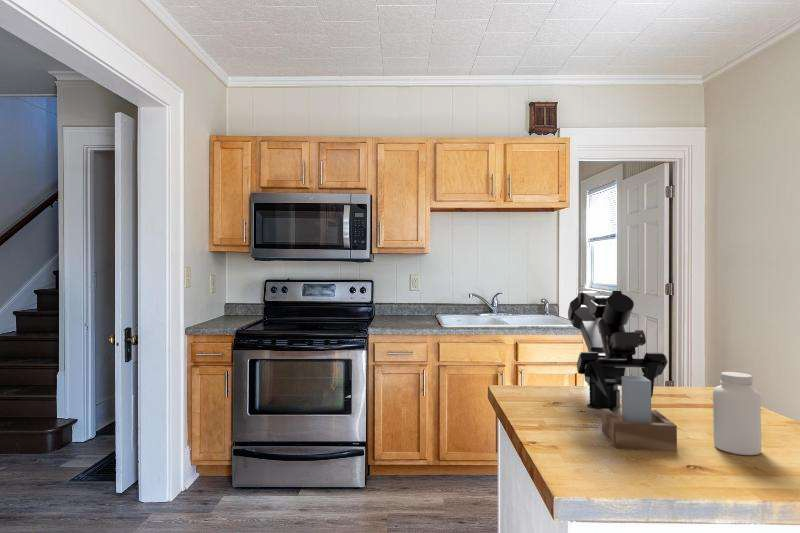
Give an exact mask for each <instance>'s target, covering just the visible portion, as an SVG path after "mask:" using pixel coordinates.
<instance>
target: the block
mask: <svg viewBox="0 0 800 533" xmlns="http://www.w3.org/2000/svg"><path fill="white" fill-rule="evenodd" d="M651 410H652V398H651V381H650V380H648V379H647V378H645V377H644V376H643V375H642V376H639V375H638V376H637V375H635V376H633V375H624V376H622V385H621V422H646V423H651Z"/></svg>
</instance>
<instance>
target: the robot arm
mask: <svg viewBox="0 0 800 533" xmlns="http://www.w3.org/2000/svg"><path fill="white" fill-rule="evenodd" d="M634 303H635V302H634V300H633V299H632V298H631V297H630V296H628V295H626V294H623V293H622V290H612V291H611V294H610V295H602V294H600V293H599V292H598V291H595V290H581V291H579V292H578V294H577V296H576V297H575V298H574V299H573V300H571V301H570V303H569V306H568V310H567V317H568V321H570V324H571V325H572V327H573V328H575V329H578V330H579V331H580V333H581V335H582V338H583V341H584V342H585V345H586V347H587V350H588V351H581V352H580V353H579V355H578V359H577V363H576V369H577V373H578V374H580V375H583V376H584V381H585V382H586V383H587V384H588V385H589V388H588V389H589V402H588V403H587V404H586V406H587V407H588V408H589V407H590V408H595V409H598V410H599V409H600V410H602V409H609V410H610V411H611V412H612V411H614V410H616V409H618V408H619V407H620V406H621V390H620V389H619V387H618V386H619V385H620V386H622V376H625V373H626V368H629V369H630V368H633V369H634V368H637V369H639V368H640V369H641V372H642V376H644V377H645V378H647V379H648V380H650V381H651V399H652V398H653V395H654V387H655V386H654V384H655V379H656V378H657V377H658V376H660V375H662V374H663V372H664V370H665V368H666V366H667V365H668V362H669V361H668V359H667V356H666V355H665V354H664V353H663V352H645V354H644V357H643V358H634V357H633V356H635V355H636V354H637V353H636V348H638V347H639V346H640V347H641V346H644V345H645V344H646V343H647V340H646V334H645V332H644V329H643V330H642V329H641V330H639V329H636V330H634V331H626V329H625V325H627V324H628V322H629V320H630V317H631V314H632V311H633V308H634V306H635V305H634Z"/></svg>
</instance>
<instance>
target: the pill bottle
mask: <svg viewBox="0 0 800 533" xmlns="http://www.w3.org/2000/svg"><path fill="white" fill-rule="evenodd" d="M753 378H754V377H753V375H751V374H750V373H749V374H748V373H745V372H744V373H743V372H737V371H723V372H721V373H720V381H719V382H720V385H717V386H715V387H714V388H713V390H712V424H713V426H712V427H713V428H712V430H713V434H712V435H713V445H714V446H715V447H716V448H717V449H719V450H721V451H723V452H726V453H730V454H733V455H741V456H755V455H760V454H761V452H762V408H761V405H762V404H761V395H760V393H759V392H758V391H757V390H756V389H754V388H752V386H753V382H754V381H753V380H754V379H753Z"/></svg>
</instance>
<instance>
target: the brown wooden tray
mask: <svg viewBox="0 0 800 533" xmlns="http://www.w3.org/2000/svg"><path fill="white" fill-rule="evenodd" d="M677 427H678V426H677V424H675V423H674V422H672V421H671V420H670V419H668V418H667V417H666V416H665V415H664V414H662V413H660V412H659V411H658V410H656V409H651V423H646V422H622V420H620V419H619V417H618V416H617V415H615V413H613V412H612V411H610V410H609V409H601V432H602V434H603V435H604V436H605V437H606V438H607V439H608V441H609V442H610V443H611V444H612V445H613V446H614V447H615V449H616V450H641V451H642V450H643V451H644V450H645V451H669V452H671V451H672V452H676V451H678V432H677V431H678V428H677Z"/></svg>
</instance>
